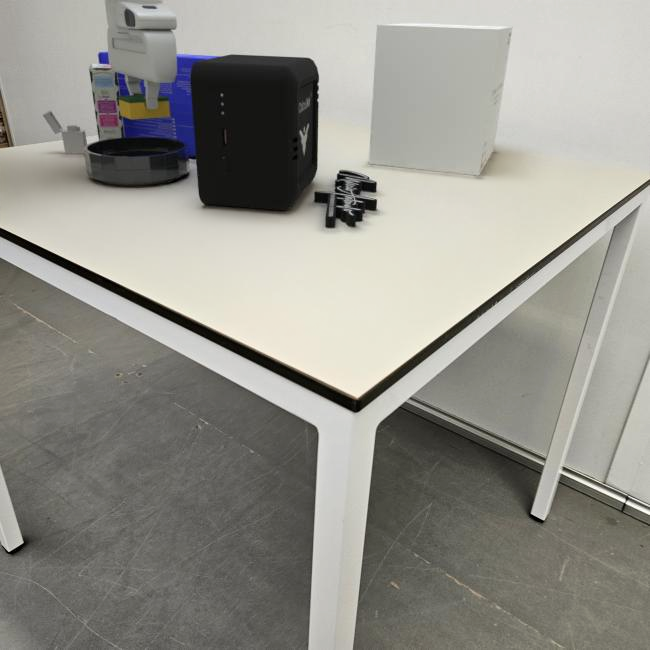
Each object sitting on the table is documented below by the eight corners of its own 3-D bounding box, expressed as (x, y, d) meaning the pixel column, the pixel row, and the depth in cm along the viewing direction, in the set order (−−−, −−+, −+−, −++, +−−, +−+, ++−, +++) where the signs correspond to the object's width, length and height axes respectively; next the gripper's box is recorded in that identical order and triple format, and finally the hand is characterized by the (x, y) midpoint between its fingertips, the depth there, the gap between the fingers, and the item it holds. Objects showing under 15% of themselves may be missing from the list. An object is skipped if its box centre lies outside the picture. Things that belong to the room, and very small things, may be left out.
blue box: (287, 161, 119) (286, 59, 110) (264, 170, 112) (261, 62, 103) (136, 139, 134) (125, 48, 125) (108, 145, 127) (95, 50, 119)
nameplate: (318, 169, 107) (375, 170, 107) (318, 177, 108) (374, 179, 108) (309, 216, 83) (382, 218, 83) (309, 227, 84) (381, 229, 83)
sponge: (130, 119, 99) (128, 99, 98) (120, 115, 103) (118, 95, 101) (170, 116, 103) (168, 97, 102) (159, 113, 107) (157, 93, 105)
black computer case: (293, 216, 88) (294, 67, 78) (198, 208, 90) (188, 62, 81) (319, 181, 105) (322, 57, 96) (239, 175, 108) (234, 53, 98)
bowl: (109, 193, 96) (104, 161, 94) (75, 171, 108) (70, 142, 106) (206, 179, 105) (204, 149, 103) (165, 159, 117) (162, 133, 115)
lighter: (88, 151, 122) (82, 110, 118) (86, 153, 120) (79, 111, 116) (52, 151, 121) (44, 110, 117) (49, 153, 119) (41, 111, 116)
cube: (478, 175, 112) (500, 29, 101) (368, 163, 118) (376, 24, 107) (493, 150, 133) (512, 26, 122) (399, 141, 139) (408, 22, 128)
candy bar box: (128, 160, 116) (117, 68, 109) (101, 161, 115) (87, 68, 107) (126, 148, 126) (115, 62, 118) (101, 149, 124) (88, 62, 116)
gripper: (93, 12, 101) (104, 99, 108) (141, 16, 87) (150, 116, 93) (129, 13, 105) (138, 97, 111) (181, 17, 91) (188, 113, 97)
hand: (144, 106), depth 102 cm, fingers closed on sponge, 4 cm apart
